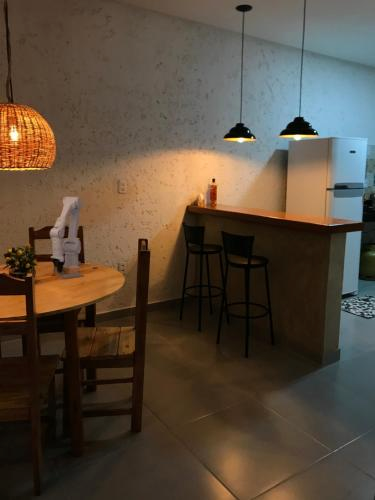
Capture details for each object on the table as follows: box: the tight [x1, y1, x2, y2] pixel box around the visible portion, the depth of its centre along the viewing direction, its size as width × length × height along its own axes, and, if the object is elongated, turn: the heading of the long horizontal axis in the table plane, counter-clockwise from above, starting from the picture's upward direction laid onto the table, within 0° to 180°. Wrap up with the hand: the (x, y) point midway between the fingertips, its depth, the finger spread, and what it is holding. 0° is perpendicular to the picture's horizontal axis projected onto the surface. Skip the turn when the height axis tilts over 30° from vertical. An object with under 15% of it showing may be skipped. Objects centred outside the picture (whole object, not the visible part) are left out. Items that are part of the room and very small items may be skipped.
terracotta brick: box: [67, 266, 79, 274], centre depth 241 cm, size 5×5×4 cm
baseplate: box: [58, 272, 84, 280], centre depth 234 cm, size 7×12×1 cm, turn 125°
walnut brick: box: [52, 266, 65, 276], centre depth 240 cm, size 5×5×4 cm
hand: (58, 271), depth 240 cm, fingers open, 5 cm apart
